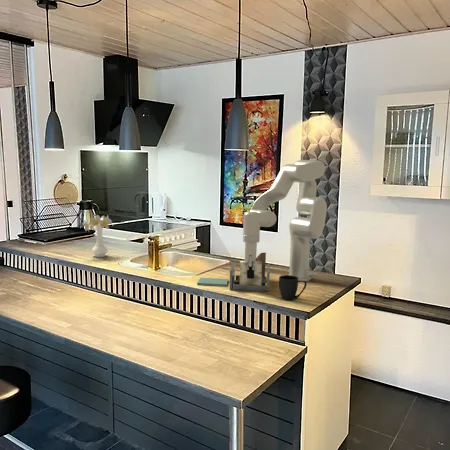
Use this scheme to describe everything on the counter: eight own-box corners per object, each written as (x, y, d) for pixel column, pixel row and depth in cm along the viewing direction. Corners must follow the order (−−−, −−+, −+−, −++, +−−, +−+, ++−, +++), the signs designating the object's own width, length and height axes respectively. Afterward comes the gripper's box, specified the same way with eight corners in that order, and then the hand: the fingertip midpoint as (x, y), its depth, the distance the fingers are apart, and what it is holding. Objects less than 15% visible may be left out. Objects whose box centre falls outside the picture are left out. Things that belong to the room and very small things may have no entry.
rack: (269, 281, 221) (269, 263, 220) (268, 292, 203) (269, 272, 202) (232, 279, 223) (233, 262, 221) (229, 290, 205) (230, 270, 203)
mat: (228, 280, 220) (228, 278, 220) (226, 286, 210) (226, 284, 210) (200, 279, 222) (200, 277, 221) (197, 284, 212) (197, 282, 212)
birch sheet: (261, 284, 208) (261, 261, 207) (261, 286, 206) (261, 262, 204) (240, 283, 209) (240, 260, 208) (239, 285, 207) (239, 262, 205)
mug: (302, 304, 186) (303, 282, 185) (275, 299, 192) (276, 278, 191) (308, 299, 193) (309, 277, 192) (282, 294, 199) (283, 274, 198)
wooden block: (259, 281, 222) (261, 245, 219) (245, 276, 230) (246, 242, 227) (265, 279, 224) (266, 244, 221) (250, 275, 232) (251, 241, 230)
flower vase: (79, 257, 265) (78, 215, 262) (104, 252, 280) (104, 213, 276) (93, 260, 257) (92, 217, 254) (118, 255, 272) (118, 215, 269)
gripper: (244, 235, 212) (243, 272, 215) (242, 241, 197) (241, 281, 199) (259, 235, 212) (259, 273, 214) (259, 241, 196) (258, 282, 199)
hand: (250, 277), depth 207 cm, fingers closed on birch sheet, 2 cm apart
